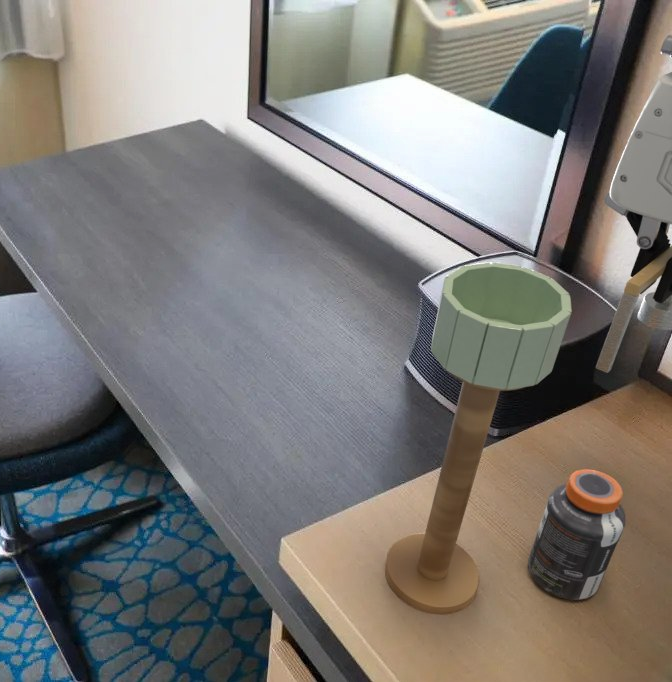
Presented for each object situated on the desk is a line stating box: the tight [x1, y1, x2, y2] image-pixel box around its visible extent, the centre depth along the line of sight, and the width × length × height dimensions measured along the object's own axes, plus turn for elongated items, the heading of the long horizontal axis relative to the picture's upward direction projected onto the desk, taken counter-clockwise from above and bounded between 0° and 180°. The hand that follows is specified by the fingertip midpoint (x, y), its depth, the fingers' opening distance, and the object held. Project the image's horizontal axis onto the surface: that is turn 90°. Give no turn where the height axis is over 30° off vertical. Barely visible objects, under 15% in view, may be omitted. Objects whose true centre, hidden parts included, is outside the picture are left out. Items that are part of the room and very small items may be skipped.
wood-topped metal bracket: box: [595, 245, 672, 374], centre depth 65 cm, size 12×3×8 cm, turn 130°
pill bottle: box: [527, 468, 627, 601], centre depth 67 cm, size 6×6×11 cm
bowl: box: [430, 261, 573, 391], centre depth 54 cm, size 8×8×5 cm
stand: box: [384, 372, 525, 615], centre depth 63 cm, size 8×8×26 cm
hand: (654, 291), depth 64 cm, fingers closed on wood-topped metal bracket, 1 cm apart
